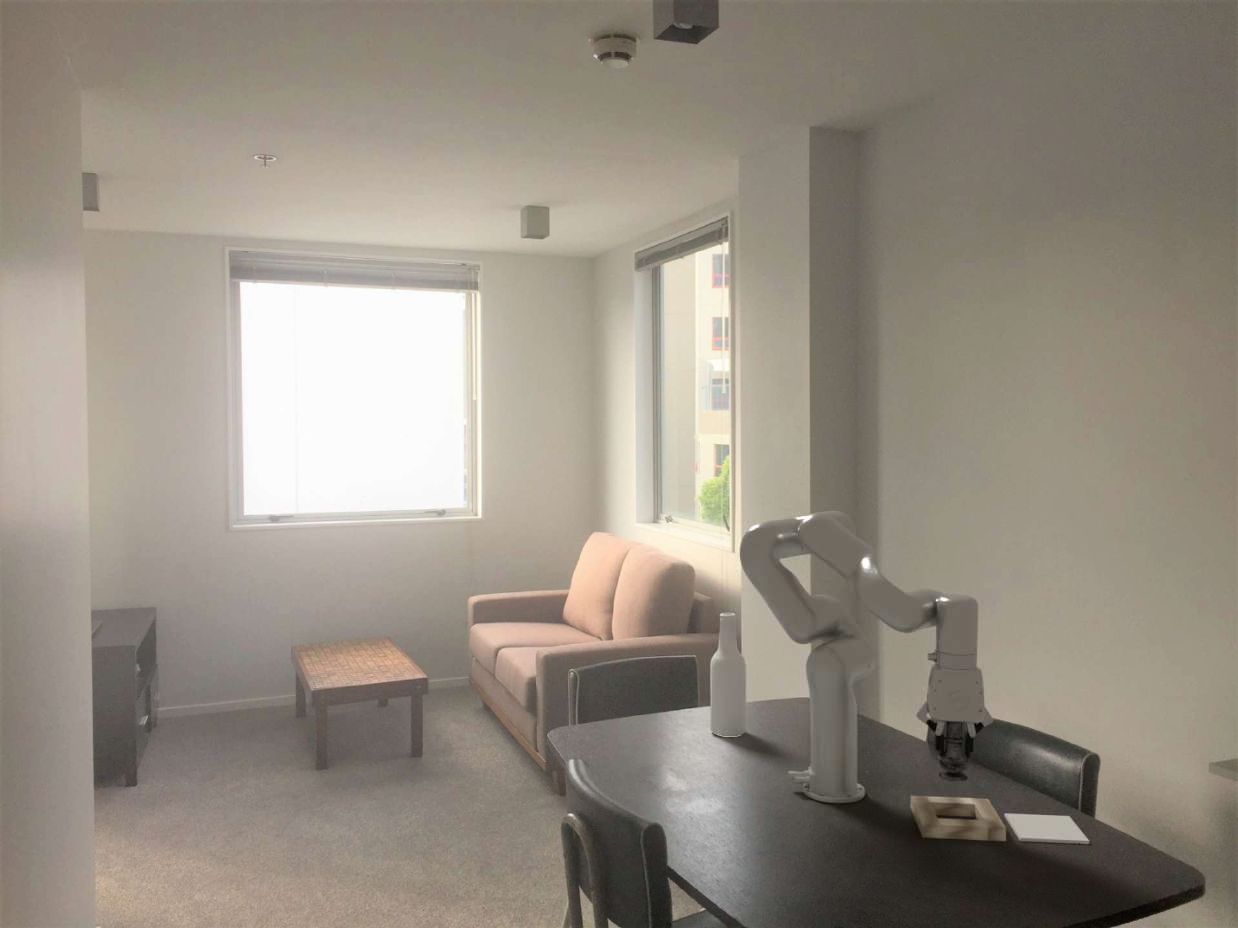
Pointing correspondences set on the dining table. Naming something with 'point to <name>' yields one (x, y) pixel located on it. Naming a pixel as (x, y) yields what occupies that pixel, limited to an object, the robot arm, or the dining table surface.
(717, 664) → the alcohol
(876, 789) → the dining table surface
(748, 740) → the dining table surface
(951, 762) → the black chess piece
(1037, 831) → the rubber mat
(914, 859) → the dining table surface
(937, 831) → the frame
